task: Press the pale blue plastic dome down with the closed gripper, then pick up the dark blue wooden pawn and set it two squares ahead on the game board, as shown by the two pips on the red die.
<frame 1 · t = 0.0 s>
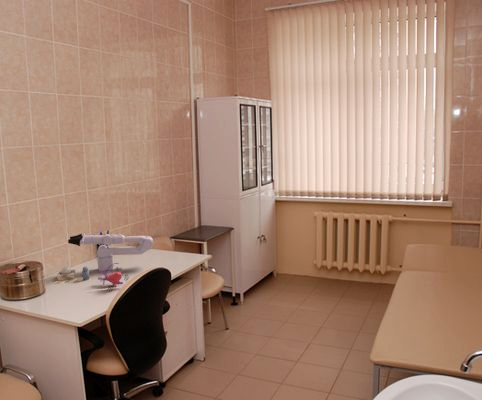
hand: (69, 239, 294), 22 cm above the table, tool horizontal, fingers open, 7 cm apart
game board: (75, 280, 284), on the table
dome: (66, 271, 286), point 5 cm above the table, slide at 0.0 cm
pawn: (86, 279, 281), point 1 cm above the table, touching game board
heart model: (111, 288, 267), on the table
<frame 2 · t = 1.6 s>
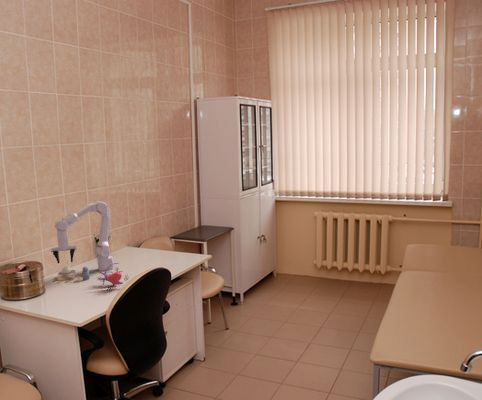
hand: (65, 262, 285), 10 cm above the table, tool pointing down, fingers open, 7 cm apart
nothing on the table moved.
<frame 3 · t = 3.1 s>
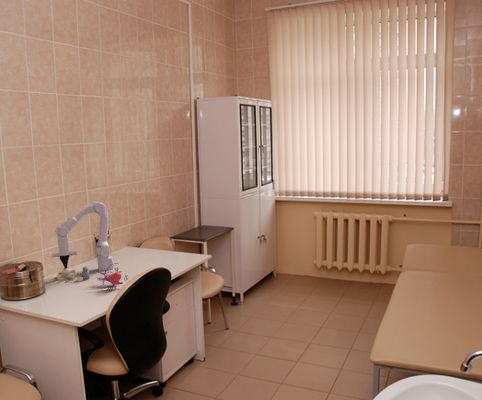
hand: (65, 267, 286), 7 cm above the table, tool pointing down, fingers closed, pressing on dome
dome: (66, 272, 286), point 4 cm above the table, slide at 0.5 cm, touching gripper
everything else where it was.
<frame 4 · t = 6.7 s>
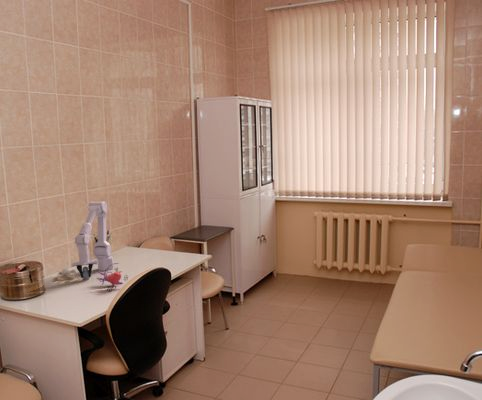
hand: (86, 277, 281), 2 cm above the table, tool pointing down, fingers closed on pawn, 4 cm apart
dome: (66, 272, 286), point 4 cm above the table, slide at 0.5 cm
pawn: (86, 279, 281), point 1 cm above the table, touching game board, gripper
everything else where it was.
when the fingers open (4 cm above the table, at t = 10.0 s): pawn drops 1 cm, resting on game board.
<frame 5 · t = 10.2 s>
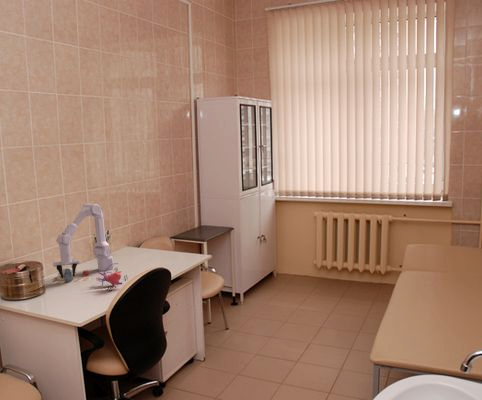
hand: (68, 277, 279), 4 cm above the table, tool pointing down, fingers open, 6 cm apart
pawn: (68, 281, 279), point 1 cm above the table, touching game board
everything else where it was.
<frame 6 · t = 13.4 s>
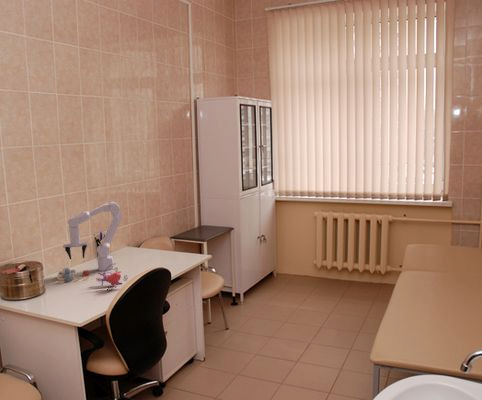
hand: (77, 258, 293), 10 cm above the table, tool pointing down, fingers open, 7 cm apart
at the end: pawn 0.1 cm from the target spot, point 1.1 cm above the table; pawn tilted 0°; the gripper is holding nothing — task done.
